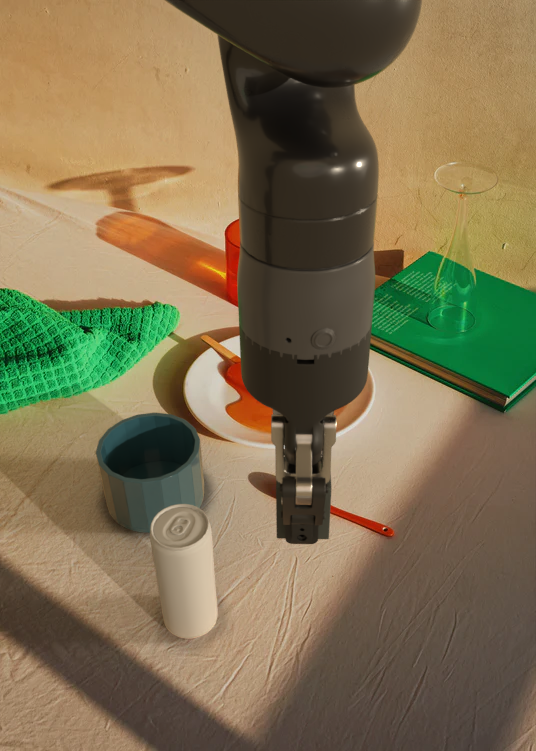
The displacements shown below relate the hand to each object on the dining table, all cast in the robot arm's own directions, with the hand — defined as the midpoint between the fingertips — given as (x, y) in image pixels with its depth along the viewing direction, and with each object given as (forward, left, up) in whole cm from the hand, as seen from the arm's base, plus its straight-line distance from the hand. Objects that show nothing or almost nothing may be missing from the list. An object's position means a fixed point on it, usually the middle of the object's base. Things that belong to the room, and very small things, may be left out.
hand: (301, 519), depth 52 cm
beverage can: (-5, +9, -17) cm, 19 cm away
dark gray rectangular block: (0, 0, 0) cm, 0 cm away
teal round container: (0, +23, -16) cm, 28 cm away
